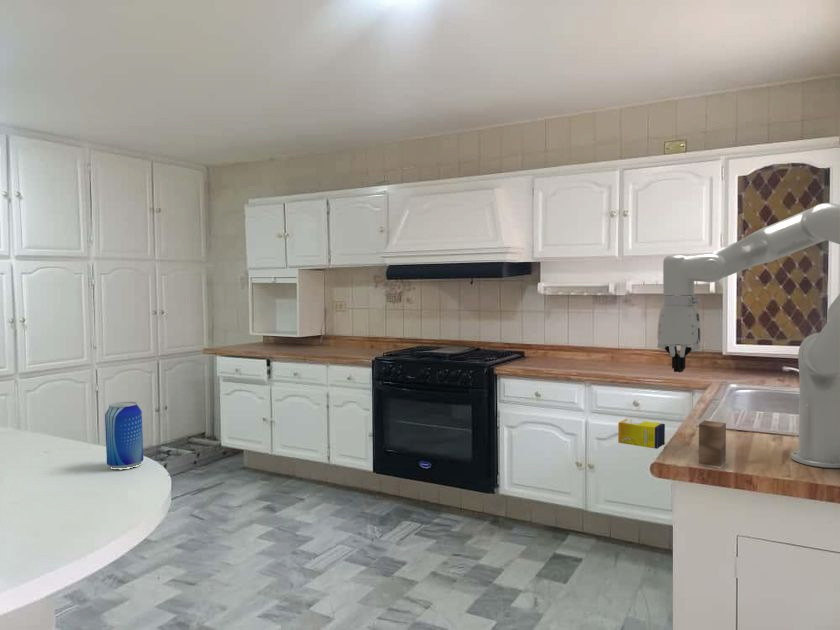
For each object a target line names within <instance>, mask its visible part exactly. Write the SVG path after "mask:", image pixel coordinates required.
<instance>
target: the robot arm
mask: <svg viewBox="0 0 840 630" xmlns="http://www.w3.org/2000/svg"><path fill="white" fill-rule="evenodd" d="M825 241H827V242H831V243H834V244H838V245H840V204H837V203H833V202H823V203H819V204H817V205H815V206H813V207H811V208H809V209H806V210H804V211H801V212H799V213H797V214H794V215H791V216H789V217H787V218H785V219H781V220H780V221H777V222H775V223H772V224H770V225H767V226H765V227H762V228H760V229H758V230H756V231H754V232H752V233H750V234H749V235H748V236H746V237H744V238H742V239H740V240H737V241H736V242H733V243H732V244H729V245H726V246H724V247H722V248H719V249H716V250H714V251H712V252H708V253H707V252H706V253H702V254H695V255H694V254H693V255H689V254H673V255H667V256H666V257H664V259H663V262H662V263H663V264H662V266H663V269H662V270H663V271H662V273H663V274H662V275H663V277H662V279H663V280H662V282H663V283H662V284H663V285H662V286H663V290H662V291H663V294H662V295H663V299H662V300H663V301H662V302H663V303H662V306H663V307H660V310H659V316H658V322H657V323H658V324H657V335H656V336H657V348H658V349H660V350H664V351H666V352H667V353H668V354H669V355H670V357H671V368H672V369H673V372H674V373H683V372H684V370H686V357H687V355H689V354H690V353H691V352H695V351H700V350H701V348H702V346H701V342H702V331H701V319H700V312H699V307H695V305H696V304H700V303H701V298H700V297H696V295H695V282H703V283H715V282H719V281H721V280H722V279H724V278H727V277H728V276H729V277H730V276H732V275H734V274H737V273H739V272H742V271H745V270H746V269H749V268H752V267H756V266H759V265H765V264H768V263H771V262H773V261H776V260H779V259H782V258H785V257H787V256H790V255H792V254H794V253H796V252H800V251H802V250H805V249H806V248H809V247H813V246H815V245H817V244H820V243H822V242H825ZM826 318H827V322H826V323H825V324H824V326H823V328H822V329H821V331H820V332H815V333H812V334H810V335H808V336H806V337H805V339H803V340H802V342H801V343H800V345H799V349H798V351H797V352H798V354H797V355H798V356H797V359H798V373H799V376H798V377H799V389H798V390H799V391H798V392H799V397H798V401H799V402H798V404H799V405H798V450H794V451H792V452H791V454H790V458H791V459H792V460H793V461H795V462H797V463H800V464H803V465H806V466H810V467H818V468H827V469H840V293H839V294H838V295H837V297H836V298H835V299H834V300H833V302H832V303H831V304H830V305H829V308H827V312H826ZM677 346H680V351H679V350H678V347H677ZM678 351H679V352H678Z"/></svg>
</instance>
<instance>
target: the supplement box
mask: <svg viewBox="0 0 840 630" xmlns="http://www.w3.org/2000/svg"><path fill="white" fill-rule="evenodd" d="M617 428H618V433H617V435H618V437H617V439H618V440H617V441H618V443H619V444H626V445H632V446H637V447H644V448H651V449H656V450H658V449H659V448H661V447H662V446H665V445H666V443H665V442H666V441H665V438H666V434H665V432H666V424H665V423H661V422H660V423H659V422H652V421H647V420H646V421H645V420H639V419H638V420H637V419H631V418H625V419H623V420H621V421H619V422H618V427H617Z"/></svg>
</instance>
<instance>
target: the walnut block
mask: <svg viewBox="0 0 840 630" xmlns="http://www.w3.org/2000/svg"><path fill="white" fill-rule="evenodd" d="M726 437H727V423H726V422H720V421H719V422H718V421H712V420H703V421H701V422H700V423H698V465H699V466H703V465H704V466H705V467H710V468H711V467H712V468H716V467H717V468H718V469H722V467H724V465H726V460H727V459H726V457H727V455H726V453H727V452H726V451H727V446H726V443H727V441H726V440H727V438H726Z"/></svg>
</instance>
